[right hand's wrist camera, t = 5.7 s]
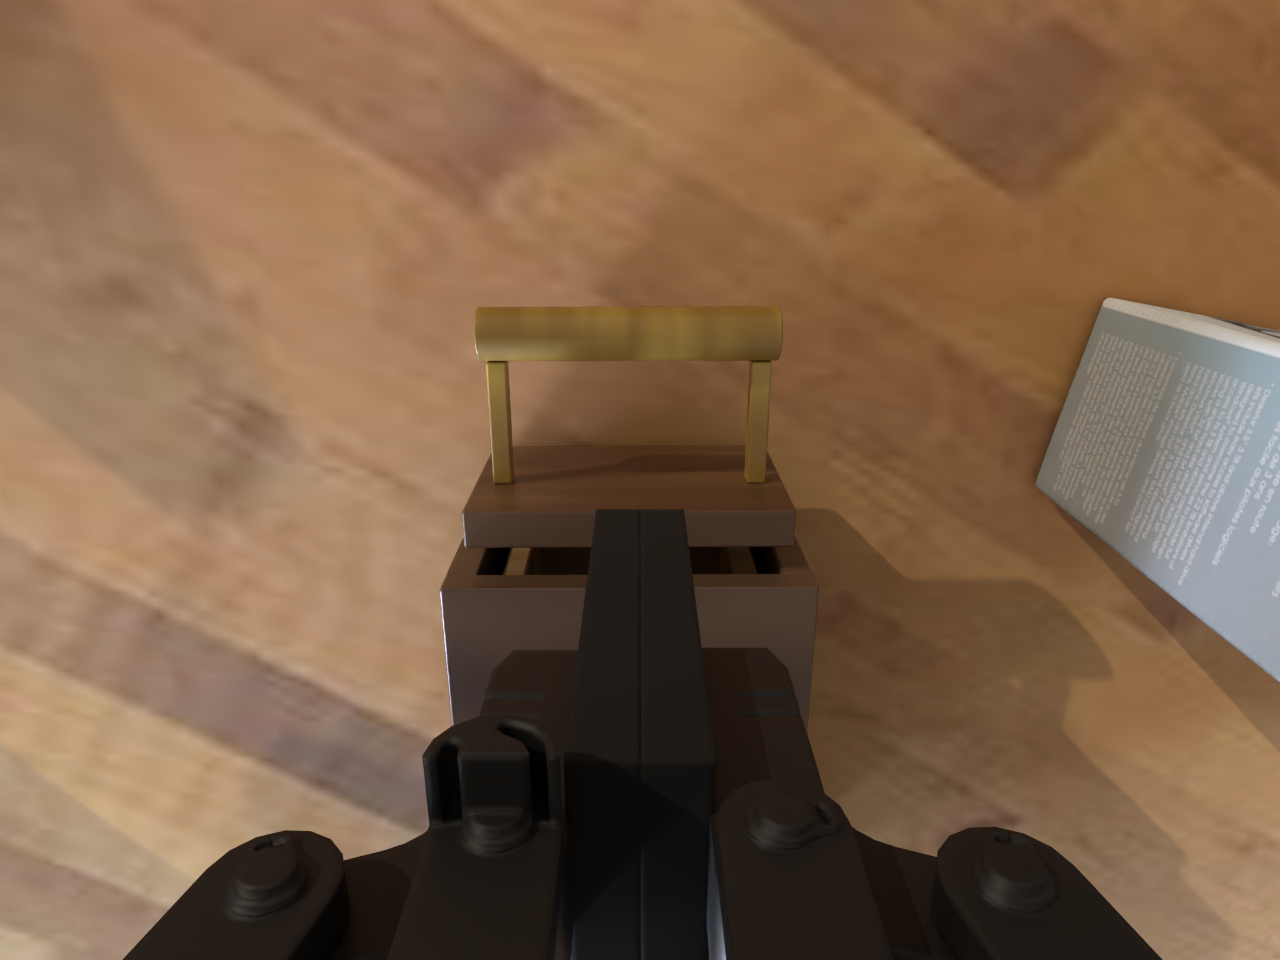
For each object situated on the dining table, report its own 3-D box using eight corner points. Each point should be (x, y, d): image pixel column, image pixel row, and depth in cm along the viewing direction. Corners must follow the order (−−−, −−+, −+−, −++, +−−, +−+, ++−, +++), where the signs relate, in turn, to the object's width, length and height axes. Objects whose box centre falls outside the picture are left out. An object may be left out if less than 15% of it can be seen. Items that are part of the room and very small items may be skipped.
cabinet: (485, 488, 32) (438, 588, 25) (775, 487, 32) (819, 586, 25) (510, 868, 39) (480, 1042, 31) (752, 866, 39) (782, 1039, 31)
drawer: (483, 290, 29) (446, 322, 23) (773, 289, 29) (809, 321, 23) (517, 826, 37) (495, 952, 31) (745, 825, 37) (767, 950, 31)
